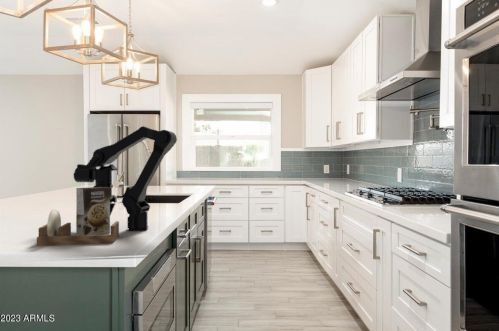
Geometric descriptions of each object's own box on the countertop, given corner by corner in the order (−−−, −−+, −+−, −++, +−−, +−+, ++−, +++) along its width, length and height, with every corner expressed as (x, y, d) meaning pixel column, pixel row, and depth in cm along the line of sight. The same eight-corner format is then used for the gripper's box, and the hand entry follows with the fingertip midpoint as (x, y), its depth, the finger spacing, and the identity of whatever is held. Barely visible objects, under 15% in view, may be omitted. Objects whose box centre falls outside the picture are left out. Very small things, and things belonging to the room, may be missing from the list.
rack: (118, 236, 121) (118, 206, 121) (113, 243, 111) (113, 210, 111) (49, 238, 117) (49, 207, 117) (36, 245, 107) (36, 212, 107)
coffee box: (84, 238, 118) (84, 189, 117) (75, 235, 122) (75, 187, 121) (111, 233, 125) (110, 187, 124) (101, 231, 129) (101, 185, 128)
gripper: (87, 181, 143) (87, 220, 143) (72, 184, 125) (73, 229, 125) (116, 181, 145) (116, 219, 145) (106, 184, 127) (106, 228, 127)
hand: (103, 224), depth 136 cm, fingers open, 8 cm apart
